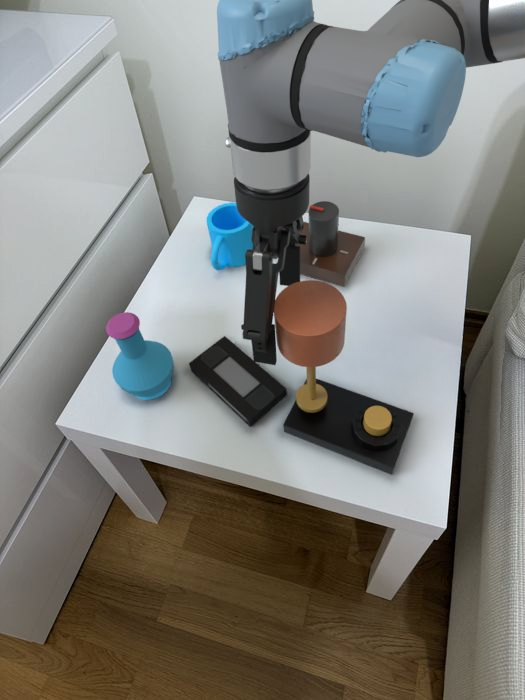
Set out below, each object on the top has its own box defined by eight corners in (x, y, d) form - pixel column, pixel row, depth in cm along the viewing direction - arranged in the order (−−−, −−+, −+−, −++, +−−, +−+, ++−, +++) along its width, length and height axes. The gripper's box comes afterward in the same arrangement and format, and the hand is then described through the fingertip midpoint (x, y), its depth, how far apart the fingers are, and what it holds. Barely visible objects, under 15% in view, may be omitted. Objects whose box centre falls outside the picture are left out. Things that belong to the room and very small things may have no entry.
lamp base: (411, 420, 74) (415, 406, 71) (391, 475, 69) (395, 463, 66) (308, 383, 79) (308, 368, 76) (283, 431, 74) (282, 418, 71)
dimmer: (341, 241, 92) (343, 203, 85) (331, 259, 90) (332, 222, 83) (315, 234, 94) (315, 196, 87) (304, 252, 91) (303, 215, 84)
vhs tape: (250, 427, 75) (249, 421, 74) (190, 370, 82) (188, 363, 81) (287, 395, 78) (286, 388, 76) (226, 343, 85) (224, 335, 83)
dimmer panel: (364, 249, 95) (365, 236, 92) (344, 287, 90) (345, 274, 87) (303, 233, 98) (303, 220, 96) (281, 269, 94) (280, 256, 91)
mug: (225, 233, 101) (218, 199, 94) (263, 242, 98) (259, 207, 92) (197, 276, 94) (188, 242, 88) (237, 286, 92) (231, 252, 85)
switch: (393, 418, 70) (395, 410, 69) (385, 440, 68) (386, 433, 67) (368, 409, 71) (369, 401, 70) (359, 430, 70) (360, 423, 68)
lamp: (348, 386, 73) (357, 291, 57) (327, 432, 69) (330, 345, 53) (297, 368, 76) (291, 272, 60) (274, 412, 72) (261, 322, 56)
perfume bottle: (131, 356, 85) (100, 295, 73) (185, 359, 84) (162, 298, 71) (114, 404, 80) (77, 348, 68) (171, 409, 78) (144, 352, 66)
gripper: (265, 110, 59) (273, 254, 75) (192, 250, 44) (222, 393, 60) (331, 114, 57) (324, 261, 74) (278, 261, 42) (285, 404, 58)
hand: (278, 320), depth 67 cm, fingers open, 13 cm apart
